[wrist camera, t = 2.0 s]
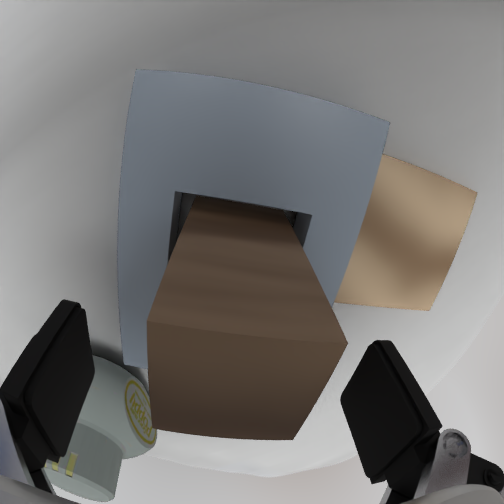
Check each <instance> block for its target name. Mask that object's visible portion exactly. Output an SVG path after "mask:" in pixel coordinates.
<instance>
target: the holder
mask: <svg viewBox="0 0 504 504" xmlns="http://www.w3.org/2000/svg"><path fill="white" fill-rule="evenodd" d="M389 125H390V122H388V121H385V120H383V119H380V118H377V117H375V116H372V115H369V114H366V113H364V112H361V111H358V110H355V109H352V108H349V107H346V106H343V105H340V104H336V103H333V102H330V101H326V100H323V99H320V98H316V97H312V96H309V95H305V94H301V93H297V92H293V91H289V90H285V89H281V88H276V87H272V86H267V85H263V84H258V83H252V82H247V81H242V80H236V79H230V78H224V77H217V76H210V75H202V74H193V73H184V72H173V71H160V70H141V69H136V72H135V77H134V82H133V88H132V93H131V99H130V105H129V111H128V117H127V124H126V131H125V139H124V147H123V156H122V166H121V178H120V191H119V209H118V243H117V265H118V299H119V316H120V330H121V341H122V351H123V360H124V364H125V365H129V366H134V367H139V368H144V369H148V360H147V318H148V315H149V313H150V310H151V307H152V304H153V301H154V299H155V296H156V293H157V291H158V288H159V285H160V283H161V280H162V277H163V275H164V272H165V270H166V267H167V265H168V262H169V260H170V257H171V255H172V252H173V250H174V247H175V245H176V239H177V229H178V221H179V212H180V204H181V197H182V192H184V193H191V194H198V195H204V196H210V197H217V198H223V199H229V200H235V201H241V202H247V203H252V204H258V205H264V206H269V207H274V208H280V209H285V210H290V211H296V212H297V215H296V219H295V223H294V227H293V230H294V232H295V234H296V236H297V238H298V240H299V242H300V244H301V246H302V248H303V250H304V252H305V254H306V256H307V258H308V260H309V262H310V264H311V266H312V268H313V270H314V272H315V274H316V276H317V278H318V280H319V282H320V284H321V287H322V289H323V291H324V293H325V295H326V297H327V299H328V301H329V303H330V305H331V308H332V306H333V303H334V301H335V298H336V296H337V293H338V290H339V288H340V285H341V283H342V280H343V277H344V274H345V272H346V269H347V266H348V263H349V261H350V258H351V255H352V252H353V249H354V246H355V243H356V241H357V238H358V235H359V232H360V228H361V225H362V222H363V219H364V216H365V213H366V210H367V206H368V203H369V200H370V197H371V193H372V190H373V186H374V183H375V179H376V176H377V172H378V169H379V165H380V161H381V157H382V154H383V150H384V146H385V142H386V138H387V133H388V129H389Z"/></svg>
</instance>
